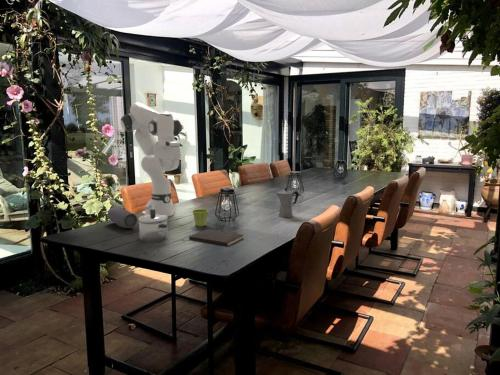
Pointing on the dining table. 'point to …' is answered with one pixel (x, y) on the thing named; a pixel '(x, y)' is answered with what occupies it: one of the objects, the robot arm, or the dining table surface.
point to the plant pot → (200, 216)
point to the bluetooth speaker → (122, 217)
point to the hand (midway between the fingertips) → (166, 167)
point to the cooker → (153, 231)
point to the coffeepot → (286, 202)
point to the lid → (152, 217)
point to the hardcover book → (216, 237)
